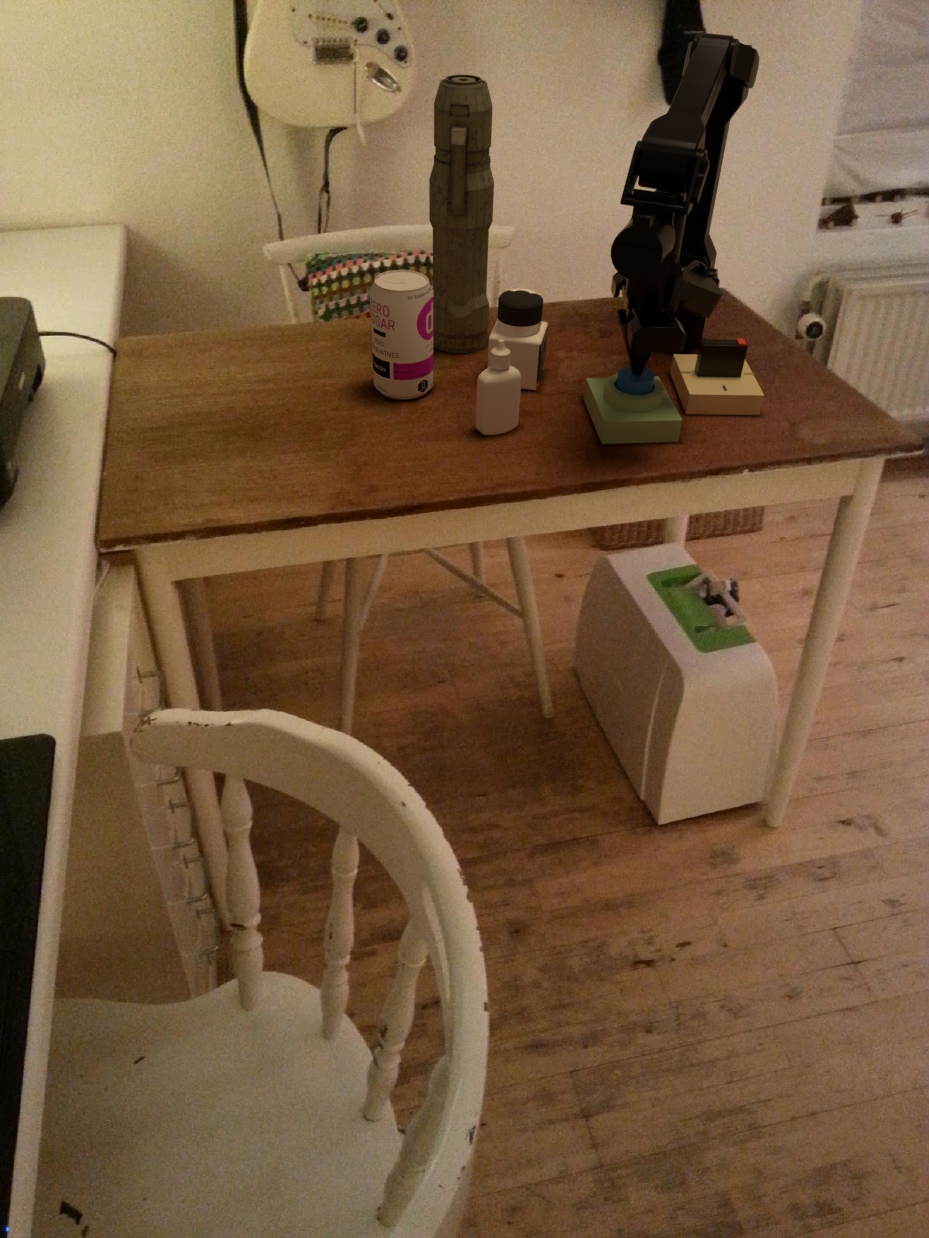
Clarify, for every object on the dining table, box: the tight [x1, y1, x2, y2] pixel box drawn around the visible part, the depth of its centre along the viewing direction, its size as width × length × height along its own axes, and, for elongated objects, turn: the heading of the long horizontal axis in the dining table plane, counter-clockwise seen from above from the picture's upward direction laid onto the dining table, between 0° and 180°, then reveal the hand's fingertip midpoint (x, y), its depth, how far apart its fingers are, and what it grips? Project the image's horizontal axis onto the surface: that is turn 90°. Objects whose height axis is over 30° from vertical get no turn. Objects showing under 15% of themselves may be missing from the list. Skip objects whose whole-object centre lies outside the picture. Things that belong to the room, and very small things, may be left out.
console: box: [669, 353, 765, 416], centre depth 131 cm, size 12×10×3 cm
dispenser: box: [583, 373, 683, 445], centre depth 124 cm, size 12×10×5 cm
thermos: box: [428, 74, 495, 354], centre depth 132 cm, size 9×12×35 cm
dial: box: [695, 337, 749, 377], centre depth 129 cm, size 6×2×5 cm, turn 90°
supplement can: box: [369, 269, 434, 400], centre depth 126 cm, size 8×8×15 cm
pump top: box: [616, 365, 655, 395], centre depth 122 cm, size 5×5×2 cm
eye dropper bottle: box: [474, 339, 522, 436], centre depth 120 cm, size 4×6×12 cm
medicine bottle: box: [487, 288, 549, 391], centre depth 131 cm, size 7×7×12 cm
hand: (636, 373), depth 122 cm, fingers closed
